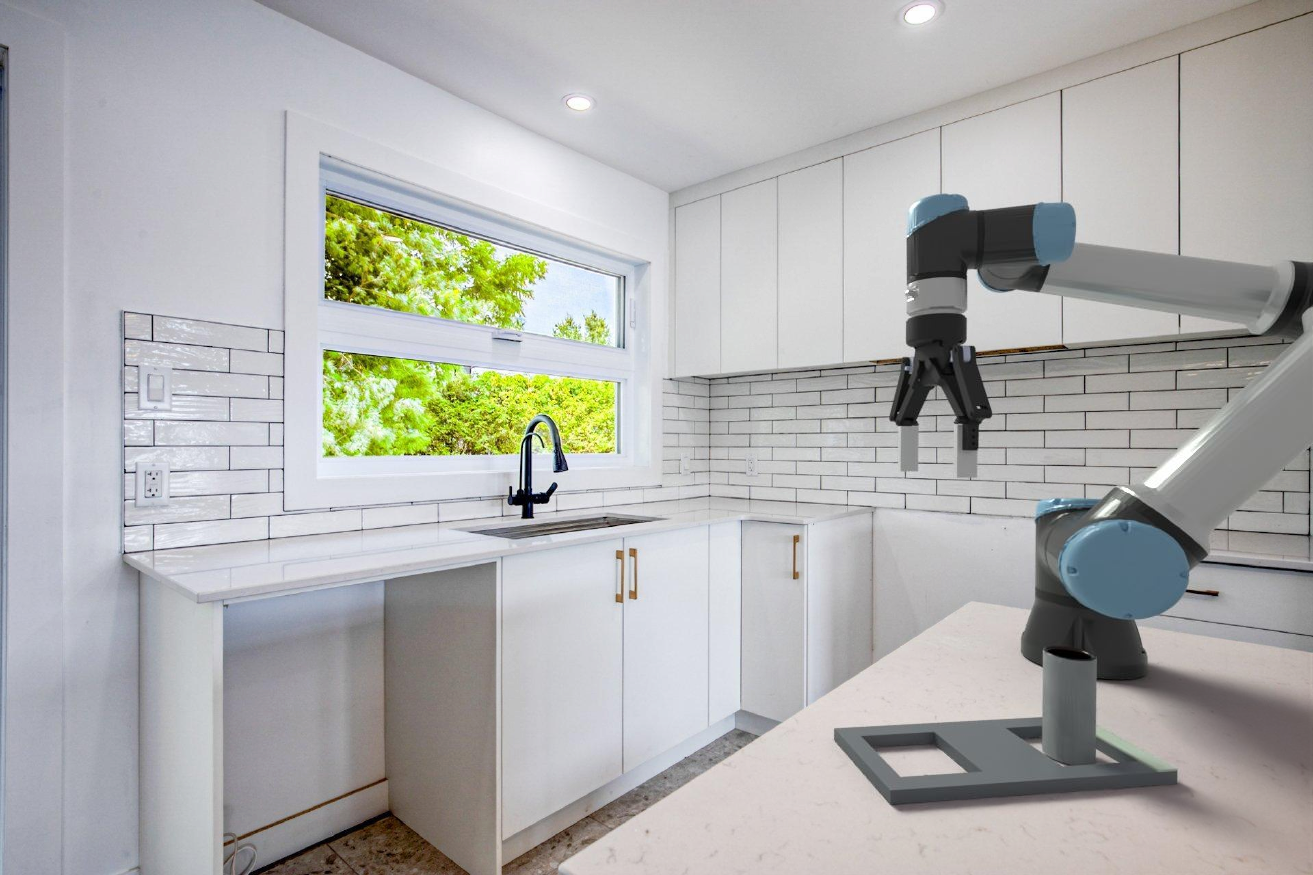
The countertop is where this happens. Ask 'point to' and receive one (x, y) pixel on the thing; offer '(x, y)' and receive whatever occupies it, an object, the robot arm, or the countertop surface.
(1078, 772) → the panel
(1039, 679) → the countertop surface
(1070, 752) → the grey hollow cylinder
